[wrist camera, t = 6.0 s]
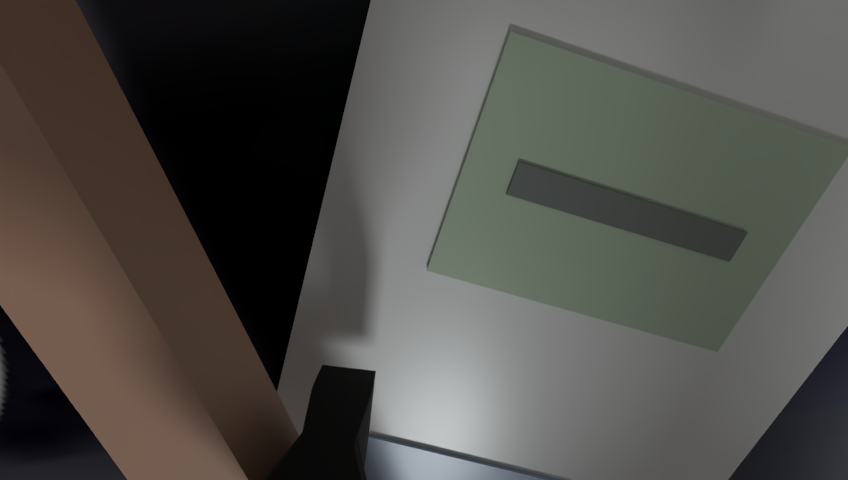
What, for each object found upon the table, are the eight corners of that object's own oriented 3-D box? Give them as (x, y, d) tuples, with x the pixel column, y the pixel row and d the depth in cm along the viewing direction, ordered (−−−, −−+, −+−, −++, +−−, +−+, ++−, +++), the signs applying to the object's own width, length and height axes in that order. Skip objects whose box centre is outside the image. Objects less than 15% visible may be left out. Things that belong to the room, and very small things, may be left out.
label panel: (1011, 52, 10) (1068, 56, 9) (542, 686, 19) (547, 719, 18) (417, -172, 9) (416, -193, 8) (223, 625, 18) (212, 657, 17)
